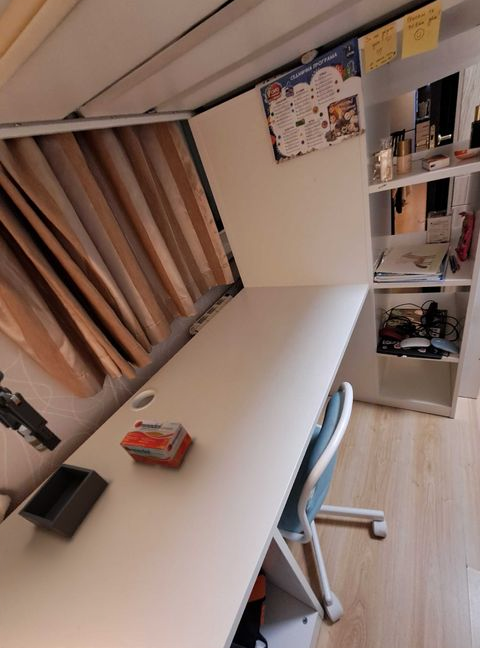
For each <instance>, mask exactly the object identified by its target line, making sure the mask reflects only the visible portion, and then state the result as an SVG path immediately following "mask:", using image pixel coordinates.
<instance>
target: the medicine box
mask: <svg viewBox="0 0 480 648" xmlns="http://www.w3.org/2000/svg"><path fill="white" fill-rule="evenodd" d="M192 442H193V440H192V437H191V436H190V434H189V433H188V431H187V430H186V428H185V427H184V426H183V424H182V423H181V422H175V421H162V420H152V419H151V420H150V419H137V420H136V421H135V423H133V425H132V426H131V428H130V429H129V431H127V433H126V434H125V436H124V438H122V440H121V441H120V443H119V445H120V446H121V447H122V448H123V450H124V451H125V452H126V453H127V454H128V455H129V456H130V457H131V459H133V460H134V462H140V463H147V464H152V465H157V466H164V467H171V468H179V467H180V465H181V462H182V460H183V459H184V457H185V455H186V452H187V450H188V449H189V447H190V445H191V443H192Z"/></svg>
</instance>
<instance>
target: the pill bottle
mask: <svg viewBox="0 0 480 648" xmlns="http://www.w3.org/2000/svg"><path fill="white" fill-rule="evenodd" d="M19 432H20V433H21V434H22V435H25V436H24V437H23V439H24V440H25V442H27V443H28V444H29V445H30V446H31V447H32V448H34V449H35V450H36V451H37V452H39V453H40V454H45V453H48V452H51V451H50V450H49V449H48V448H47V447H45V446H44V445H43V444H42V443H41V442H40V441H39V440H37V439H36V438H35V437H34V436H30V435H29V434H30V433H31V431H30V430H29V429H27V428H26V427H25V426H23V425H21V426H20V428H19Z"/></svg>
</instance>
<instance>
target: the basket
mask: <svg viewBox="0 0 480 648" xmlns="http://www.w3.org/2000/svg"><path fill="white" fill-rule="evenodd" d="M109 484H110V483H108V481H106V480H105V479H104V478H103V477H102V476H101V475H100V474H99V473H98V472H97V471H96V470H95V469H91V468H86V467H82V466H77V465H73V464H68V463H63V462H62V463H60V464H59V466H57V468H56V469H55V470H54V471H53V472H52V473H51V474H50V476H49V477H48V478H47V479H46V480H45V482H43V484H42V485H41V486H40V487H39V489H37V490H36V492H35V493H34V494H33V495H32V496H31V497H30V499H29V500H28V501H27V502H26V503H25V505H24V506H23V507H22V508H21V509H20V510H19V512H17V515H19V516H20V517H22V518H24V519H25V520H27V521H28V522H30V523H31V524H33V525H35V526H36V527H39V528H42V529H44V530H47V531H49V532H52V533H54V534H58V535H60V536H63V537H65V538H69V539H72V537H73V536H74V534H75V532H76V531H77V530H78V528H79V527H80V526H81V524H82V522H83V521H84V519H85V518H86V517H87V515H88V514H89V513H90V512H91V510H92V508H93V507H94V505H95V504H96V503H97V501H98V500H99V499H100V497H101V495H102V494H103V493H104V491H105V490H106V488H107V487H108V485H109Z"/></svg>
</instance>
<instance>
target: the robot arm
mask: <svg viewBox="0 0 480 648" xmlns="http://www.w3.org/2000/svg"><path fill="white" fill-rule="evenodd" d="M4 377H5V374H4V373H3V372H2V371H1V370H0V423H1V425H2V426H4V427H5V429H10V428H11V430H12V431H15V432H16V433H18V434H19V436H21V437H22V438H24V436H25V435H22V434H21V433H20V432H19V428H20V426H21V425H23V426H25V427H26V428H27V429H29V430H30V431H31V433H30V434H29V435H30V436H34V437H35V438H36V439H37V440H39V441H40V442H41V443H42V444H43V445H44V446H45V447H47V448H48V449H49V450H50V451H49V452H53V451H55V449H56V448H57V447H58V445H60V443H62V439H61V438H60V437H58V436H57V435H56V434H55V433H54V432H53V431H52V430H51V429H50V428H49V427H48V426H46V425H48V423H49V421H48V420H47V419H46V418H45V417H43V415H41V413H39V412H38V411H37V410H36V409H35V408H34V406H32V405H31V404H30V403H29V402H28V401H27V400H26V399H25V398H24V396H23V395H22V393H20V392H18V391H16V392H15V393H14V394H13V392H12V391H11V390H10V389H9V388H8V387H5V386H4V387H3V385H1V382H2V381H3V380H4Z"/></svg>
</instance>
